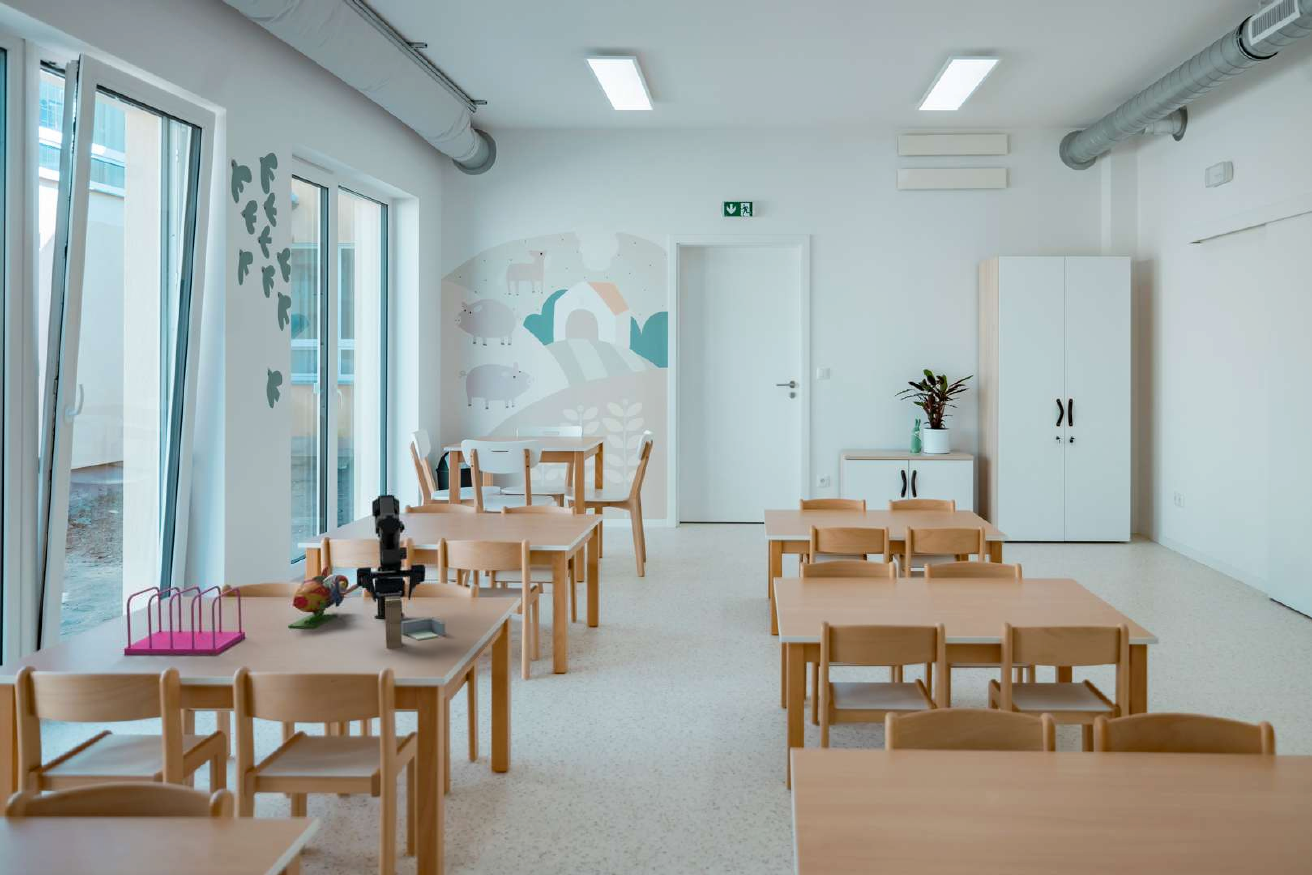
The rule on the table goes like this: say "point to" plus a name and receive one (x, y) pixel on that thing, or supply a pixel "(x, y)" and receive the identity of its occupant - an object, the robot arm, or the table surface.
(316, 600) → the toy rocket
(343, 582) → the kendama
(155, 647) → the file sorter
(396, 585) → the robot arm
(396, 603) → the walnut block
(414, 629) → the grey corner fixture
